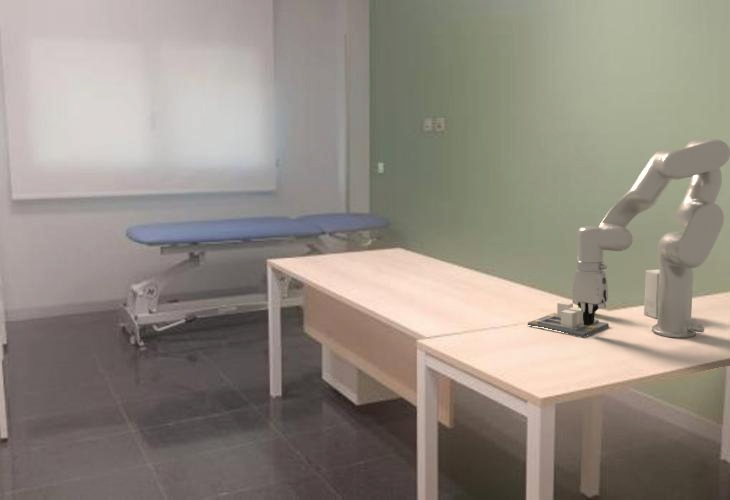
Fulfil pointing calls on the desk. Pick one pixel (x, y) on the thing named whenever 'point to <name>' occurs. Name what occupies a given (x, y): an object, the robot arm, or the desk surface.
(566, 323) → the tab
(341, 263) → the desk surface
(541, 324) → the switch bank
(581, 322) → the tab
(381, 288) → the desk surface
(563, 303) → the tab
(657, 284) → the skincare box
